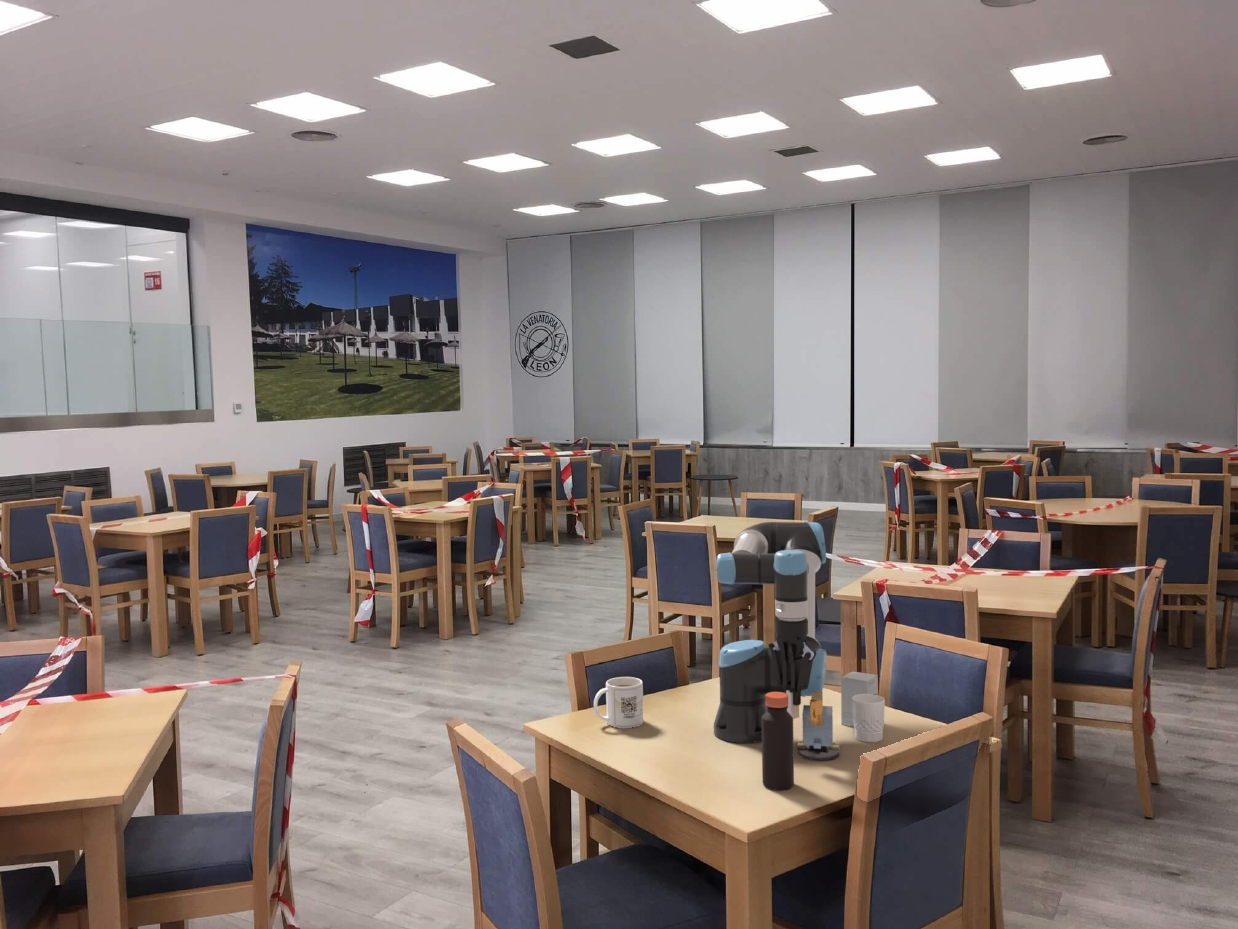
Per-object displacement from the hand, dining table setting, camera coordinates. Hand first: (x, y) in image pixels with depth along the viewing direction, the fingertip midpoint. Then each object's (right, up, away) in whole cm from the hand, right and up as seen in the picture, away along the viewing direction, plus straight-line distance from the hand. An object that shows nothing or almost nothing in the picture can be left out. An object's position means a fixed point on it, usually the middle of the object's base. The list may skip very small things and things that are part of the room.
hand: (792, 717), depth 216 cm
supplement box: (+22, -9, +26) cm, 36 cm away
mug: (-40, -10, +31) cm, 52 cm away
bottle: (-6, -11, -13) cm, 18 cm away
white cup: (+22, -9, +15) cm, 28 cm away
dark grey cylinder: (+7, -10, +6) cm, 13 cm away
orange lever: (+6, -7, +2) cm, 10 cm away
